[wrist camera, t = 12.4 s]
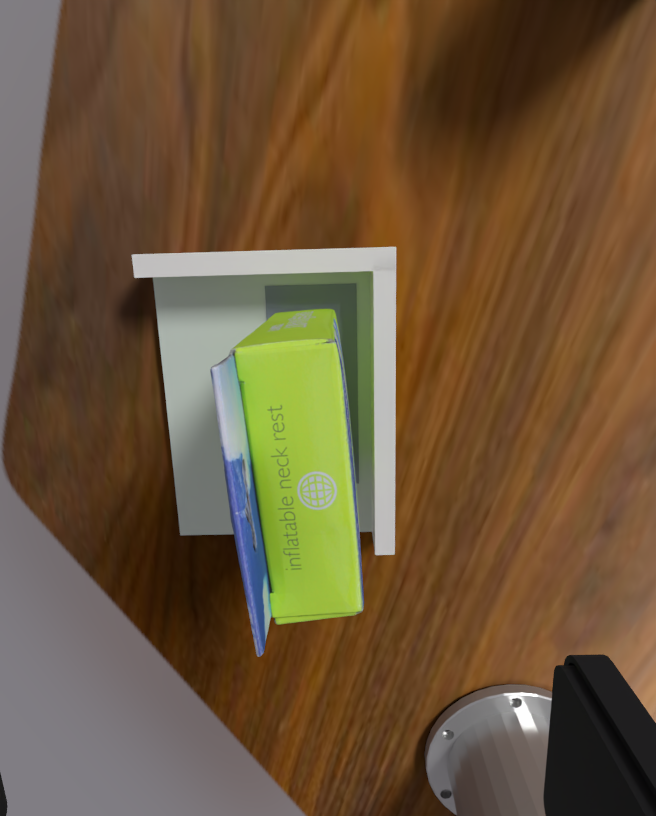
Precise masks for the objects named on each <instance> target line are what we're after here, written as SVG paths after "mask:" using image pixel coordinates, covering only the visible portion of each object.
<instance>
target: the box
mask: <svg viewBox="0 0 656 816" xmlns="http://www.w3.org/2000/svg"><path fill="white" fill-rule="evenodd" d="M210 373H211V379H212V385H213V392H214V398H215V405H216V413H217V420H218V428H219V435H220V443H221V450H222V458H223V463H224V472H225V479H226V486H227V493H228V501H229V508H230V518H231V523H232V528H233V532H234V538H235V543H236V549H237V554H238V559H239V565H240V569H241V574H242V580H243V585H244V590H245V595H246V600H247V605H248V611H249V616H250V621H251V627H252V633H253V637H254V643H255V648H256V653H257V656H258V657H259V656H261V655H262V654H263V653H264V649H265V642H266V637H267V633H268V628H269V623H270V618H271V617H274V621H275V623H276V624H278V625H279V624H286V623H295V622H303V621H311V620H319V619H326V618H334V617H343V616H353V615H355V614H358V613H361V612H362V611H363V606H364V596H363V579H362V564H361V546H360V529H359V513H358V499H357V486H356V475H355V464H354V453H353V442H352V432H351V421H350V410H349V401H348V392H347V383H346V375H345V368H344V360H343V354H342V347H341V341H340V334H339V328H338V323H337V318H336V313H335V311H334V310H333V309H313V310H302V311H290V312H279V313H275V314H274V315H272V316H271V317H270V318H269V319H268V320H267V321H266V322H264V323H263V324H262V325H261V326H259V327H258V328H257V329H256V330H255V331H254V332H252V333H251V334H249V335H248V336H247V337H246V338H244V339H243V340H242V341H241V342H240V343H238V344H237V345H236V346H235V347H233V348H232V349H231V350H230V353H229V355H228V357H226V358H225V359H224V360H222V361H221V362H220V363H218V364H216V365H214V366H212V367H211V369H210Z"/></svg>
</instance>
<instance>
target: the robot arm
mask: <svg viewBox="0 0 656 816" xmlns="http://www.w3.org/2000/svg"><path fill="white" fill-rule="evenodd" d="M424 755H425V766H426V771H427V776H428V780H429V784H430V786H431V788H432V790H433V792H434V794H435V795H436V797H437V798H438V799H439V800H440V802H441V803H442V804H443V805H444V806H445V807H446V808H447V809H449V810H450V811H451V812H452V813H454V814H455V815H457V816H656V723H655V722H654V720H653V719H652V717H651V716H650V715H649V713H648V712H647V710H646V709H645V707H644V706H643V705H642V703H641V702H640V700H639V699H638V698H637V696H636V695H635V693H634V692H633V690H632V689H631V688H630V686H629V685H628V683H627V682H626V680H625V679H624V678H623V676H622V675H621V673H620V672H619V671H618V669H617V668H616V666H615V665H614V663H613V662H612V661H611V660H610V659H609V657H608V656H605V655H569V656H567V657H566V659H565V663H564V665H558V666H556V667H555V670H554V678H553V690H552V692H551V691H548V690H545V689H543V688H539V687H534V686H529V685H514V684H507V685H500V686H492V687H489V688H485V689H482V690H479V691H476V692H474V693H471V694H469V695H467V696H465V697H463V698H461V699H460V700H458V701H457V702H456V703H454V704H453V705H451V706H450V707H449V708H448V709H447V710H446V711H445V712H444V713H443V714H442V715H441V716H440V717H439V718H438V720H437V721H436V723H435V724H434V726H433V727H432V729H431V731H430V733H429V736H428V739H427V741H426V747H425V754H424ZM6 813H7V800H6V796H5V791H4V787H3V783H2V778H1V774H0V816H6Z"/></svg>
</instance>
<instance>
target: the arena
mask: <svg viewBox="0 0 656 816" xmlns="http://www.w3.org/2000/svg"><path fill="white" fill-rule="evenodd" d="M132 261H133V270H134V278H146V277H153V284H154V293H155V303H156V312H157V321H158V331H159V340H160V350H161V359H162V368H163V378H164V387H165V397H166V406H167V415H168V425H169V434H170V444H171V453H172V462H173V472H174V481H175V491H176V500H177V509H178V519H179V528H180V535H224V534H234V532H233V528H232V523H231V518H230V508H229V501H228V493H227V486H226V479H225V472H224V463H223V458H222V450H221V443H220V435H219V428H218V420H217V413H216V405H215V398H214V392H213V385H212V379H211V373H210V369H211V367H212V366H214V365H216V364H218V363H220V362H221V361H222V360H224V359H225V358H226V357H228V355H229V353H230V350H231V349H232V348H233V347H235V346H236V345H237V344H238V343H240V342H241V341H242V340H243V339H244V338H246V337H247V336H248V335H249V334H251V333H252V332H254V331H255V330H256V329H257V328H258V327H259V326H261V325H262V324H263V323H264V322H266V321H267V320H268V319H269V318H270V317H271V316H272V315H274V314H275V313H279V312H290V311H302V310H313V309H333V310H334V311H335V313H336V318H337V323H338V328H339V334H340V341H341V347H342V354H343V360H344V368H345V375H346V383H347V392H348V401H349V410H350V421H351V432H352V442H353V453H354V464H355V475H356V486H357V499H358V513H359V529H360V532H372V536H373V544H374V551H375V555H395V392H396V247H375V248H341V249H306V250H272V251H237V252H203V253H168V254H134V255H132Z"/></svg>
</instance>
